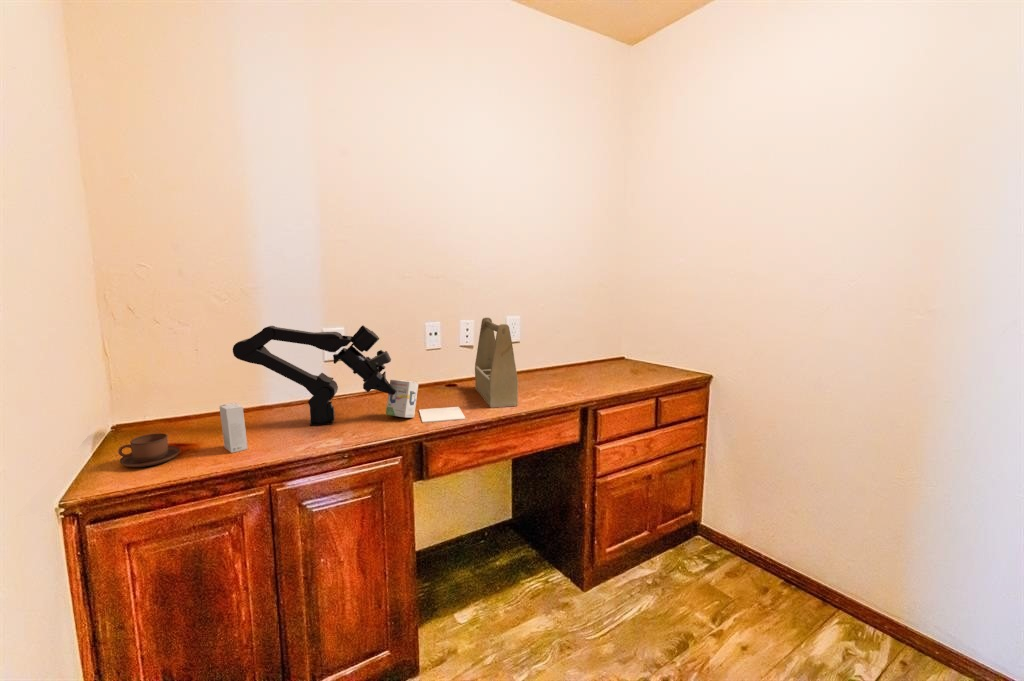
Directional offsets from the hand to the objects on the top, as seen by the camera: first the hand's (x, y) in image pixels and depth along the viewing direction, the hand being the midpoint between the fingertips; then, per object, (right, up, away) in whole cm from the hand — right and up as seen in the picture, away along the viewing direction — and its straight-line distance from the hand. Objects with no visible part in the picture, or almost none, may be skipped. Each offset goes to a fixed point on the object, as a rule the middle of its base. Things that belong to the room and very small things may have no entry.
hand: (394, 393), depth 152 cm
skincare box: (-37, -12, -26) cm, 47 cm away
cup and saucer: (-53, -14, -34) cm, 65 cm away
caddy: (+32, -5, +28) cm, 43 cm away
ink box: (+1, -8, +1) cm, 8 cm away
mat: (+15, -8, +5) cm, 17 cm away
